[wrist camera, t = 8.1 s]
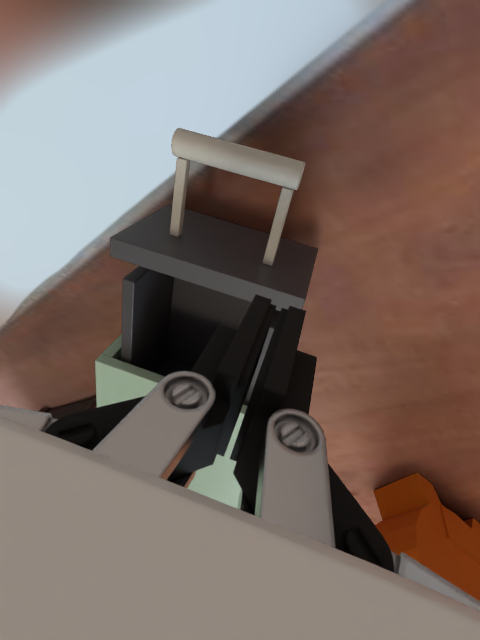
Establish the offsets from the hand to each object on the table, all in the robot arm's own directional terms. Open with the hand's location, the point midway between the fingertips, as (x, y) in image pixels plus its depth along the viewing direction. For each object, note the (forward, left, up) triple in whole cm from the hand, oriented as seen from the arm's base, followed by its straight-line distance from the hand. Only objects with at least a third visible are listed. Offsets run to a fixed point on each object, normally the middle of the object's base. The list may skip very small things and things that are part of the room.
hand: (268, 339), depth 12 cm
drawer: (+6, -5, -15) cm, 17 cm away
